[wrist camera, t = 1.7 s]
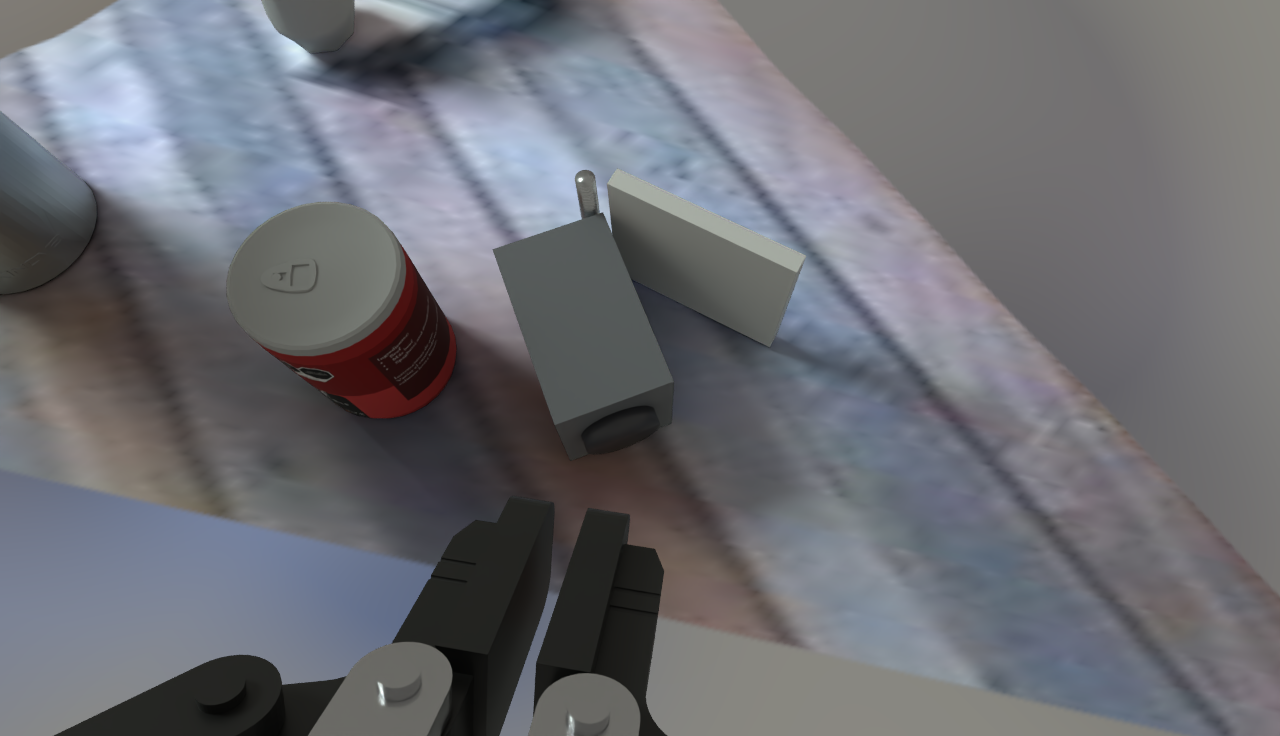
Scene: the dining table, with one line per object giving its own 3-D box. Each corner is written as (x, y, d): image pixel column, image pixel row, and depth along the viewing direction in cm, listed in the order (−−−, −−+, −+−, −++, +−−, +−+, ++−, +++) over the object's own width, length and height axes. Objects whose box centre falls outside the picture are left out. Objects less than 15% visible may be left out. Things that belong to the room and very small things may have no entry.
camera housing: (509, 289, 46) (475, 205, 38) (603, 257, 47) (591, 167, 38) (575, 474, 42) (553, 427, 33) (676, 436, 43) (681, 380, 34)
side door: (616, 271, 46) (607, 183, 37) (631, 248, 47) (625, 156, 38) (769, 347, 44) (796, 272, 36) (783, 322, 45) (813, 242, 36)
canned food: (311, 326, 46) (210, 230, 35) (440, 283, 46) (379, 177, 36) (339, 443, 43) (239, 377, 33) (476, 395, 44) (420, 315, 34)
